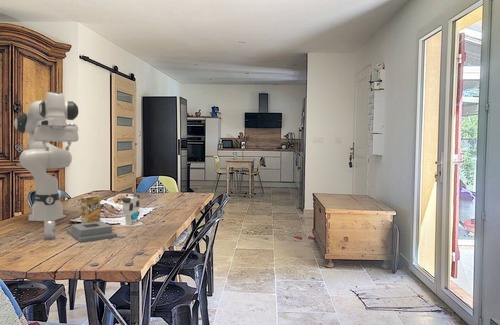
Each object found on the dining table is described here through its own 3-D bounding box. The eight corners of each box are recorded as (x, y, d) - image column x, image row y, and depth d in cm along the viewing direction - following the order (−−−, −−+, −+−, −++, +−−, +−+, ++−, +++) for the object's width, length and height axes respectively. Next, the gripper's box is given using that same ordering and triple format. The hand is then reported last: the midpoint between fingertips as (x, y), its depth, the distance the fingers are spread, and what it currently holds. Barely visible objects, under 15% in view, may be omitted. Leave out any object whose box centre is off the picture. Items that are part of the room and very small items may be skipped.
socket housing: (66, 232, 187) (66, 223, 187) (100, 228, 197) (100, 219, 197) (80, 242, 170) (80, 232, 170) (117, 237, 180) (117, 227, 180)
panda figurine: (135, 227, 201) (135, 198, 200) (115, 226, 203) (115, 197, 202) (146, 222, 212) (146, 195, 211) (127, 221, 215) (127, 194, 214)
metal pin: (43, 238, 176) (43, 220, 176) (54, 236, 179) (53, 219, 179) (45, 240, 173) (45, 222, 172) (56, 238, 176) (56, 221, 175)
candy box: (86, 227, 198) (86, 197, 197) (80, 226, 200) (80, 197, 199) (100, 224, 206) (100, 195, 205) (95, 223, 208) (95, 195, 207)
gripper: (76, 124, 206) (77, 150, 206) (32, 123, 193) (33, 151, 193) (79, 123, 201) (80, 150, 201) (35, 121, 188) (36, 150, 188)
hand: (57, 150), depth 197 cm, fingers open, 8 cm apart
